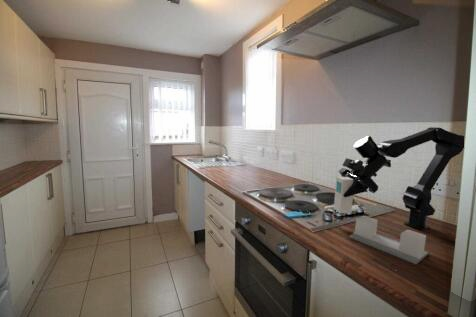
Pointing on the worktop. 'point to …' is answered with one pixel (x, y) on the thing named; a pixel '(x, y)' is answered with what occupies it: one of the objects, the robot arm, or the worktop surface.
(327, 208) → the gun
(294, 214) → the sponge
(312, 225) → the worktop surface
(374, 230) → the board
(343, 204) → the block
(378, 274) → the worktop surface
